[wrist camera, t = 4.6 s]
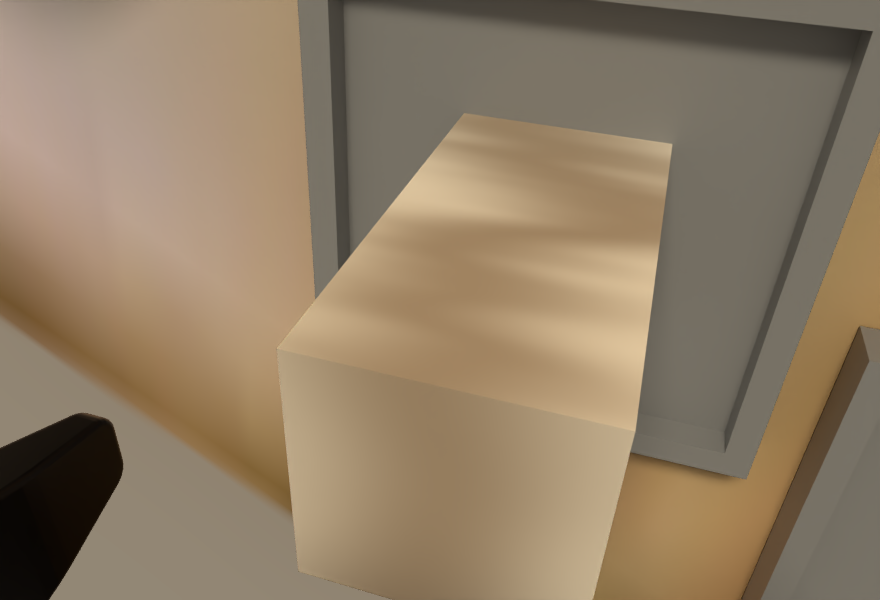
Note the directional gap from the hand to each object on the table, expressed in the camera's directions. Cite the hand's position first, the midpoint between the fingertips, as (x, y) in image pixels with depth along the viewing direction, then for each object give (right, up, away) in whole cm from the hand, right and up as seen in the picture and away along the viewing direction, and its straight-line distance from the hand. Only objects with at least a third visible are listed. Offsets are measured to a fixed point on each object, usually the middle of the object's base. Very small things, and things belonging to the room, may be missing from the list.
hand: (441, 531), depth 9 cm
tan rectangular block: (+2, +4, +7) cm, 8 cm away
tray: (+2, +5, +7) cm, 9 cm away
